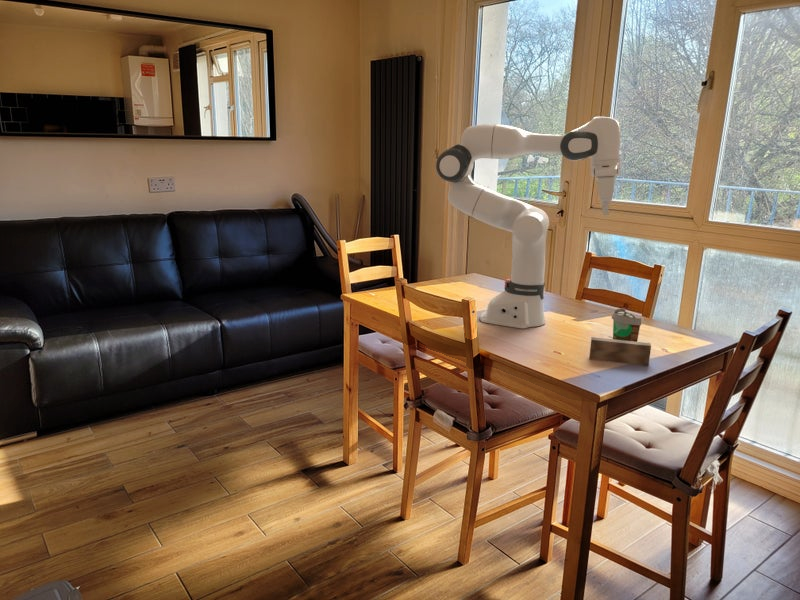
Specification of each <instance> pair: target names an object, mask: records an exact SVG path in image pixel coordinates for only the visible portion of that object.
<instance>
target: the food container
mask: <svg viewBox="0 0 800 600" xmlns="http://www.w3.org/2000/svg"><path fill="white" fill-rule="evenodd" d="M610 318H611V319H612V321H613V323H612V339H615V340H624V341H634V342H638V341H639V340H638V339H639V334H640V327H641V326H642V317H640V318H639V317H636V316H634V315H633V314H632V313H628V311H626V307H622V308H616V309H614V310H613V312H612V314H611V317H610Z"/></svg>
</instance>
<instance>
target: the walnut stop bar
mask: <svg viewBox="0 0 800 600" xmlns="http://www.w3.org/2000/svg"><path fill="white" fill-rule="evenodd" d="M589 350H590V351H589V360H592V361H602V362H611V363H618V364H629V365H636V366H645V367H649V366H650V358H651V350H652V344H651V343H650V342H642V341H637V342H634V341H624V340H615V339H613V338H604V337H594V336H591V338H590V347H589Z"/></svg>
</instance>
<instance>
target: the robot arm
mask: <svg viewBox="0 0 800 600" xmlns="http://www.w3.org/2000/svg"><path fill="white" fill-rule="evenodd" d="M620 146H621V129H620V123H619V121H618V120H617V119H615V118H613V117H609V116H594V117H593V118H592V119H591V120H589V121H588V122H586V123H585V124H584V125H581V126H580V127H578V128H575V129H573V130H571V131H569V132H567V133H563V134H549V133H548V134H547V133H544V134H543V133H536V132H535V133H533V132H531V131H526V130H524V129H522V128H518V127H517V126H516V127H515V126H512V125H506V124H499V123H498V124H496V123H491V124H489V123H486V124H475V125H470V126H467V127H466V128H465V129H464V131H463V132H462V135H461V138H460V144H459V143H458V144H455V145H453V146H452V147H450V148H448V149H446V150H444V151H443V152H441V154H439V156H438V157H437V160H436V162H435V163H436V164H435V169H436V170H435V171H436V172H437V174H438V176H439V177H440V178H441V179H442V180H443V181H445V182H449V189H448V191H447V200H448V203H449V204H450V205H451V206H452V207H454V208H455V209H457V210H458V211H460V212H462V214H466V215H467V216H470V217H471V218H473V219H476V220H477V221H480V222H482V223H485V224H487V225H488V226H490V227H494V228H498V229H501V230H504V231H507V232H510V233H511V234H512V235H511V238H512V239H511V242H512V243H511V246H512V247H511V251H512V253H511V255H512V258H511V259H512V260H511V273H510V274H511V275H510V278H506V280H505V281H504V290H503V291H502V292H500V293H499V294H497V295H495V296H494V297H493V298H491V299H490V300H489V302H488V304H487V307H486V310H485V311H484V310H483V312H482V313H480V315H479V316H480V317H479V320H480V321H481V322H482V323H485V324H491V325H497V326H504V327H510V328H516V329H527V328H534V327H539V326H543V325H545V324H546V319H545V312H544V298H545V295H546V294H545V292H546V291H545V290H546V284H545V270H546V254H547V253H546V252H547V250H546V249H547V248H546V247H547V234H548V230H549V227H550V218H549V216H548V214H547V213H546V212H545V210H543V209H541V208H539V207H536V206H534V205H531V204H528V203H526V202H524V201H521V200H519V199H516V198H513V197H510V196H507V195H505V194H502V193H500V192H498V191H495V190H493V189H491V188H489V187H487V186H485V185H481V184H480V183H477V182H476V181H474V175H475V169H476V167H475V166H476V165H475V163H476V161H477V160H479V159H493V160H503V159H504V160H506V159H512V158H517V157H521V156H524V155H528V154H546V155H547V154H549V155H560V156H562V157H565V159H567V160H569V161H573V162H579V161H584V160H585V159H588V158H589V159H590V176H591V177H594V181H595V182H597V184H596V185H597V188H598V189H597V190H598V191H597V192H598V198H599V202H601V206H602V207H601V210H602V215H603V216H609V212H610V202H611V201H613V199H614V198H613V197H614V189H615V181H616V180H617V176H618V175H620V174H621V157H620V156H621V155H620Z"/></svg>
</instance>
